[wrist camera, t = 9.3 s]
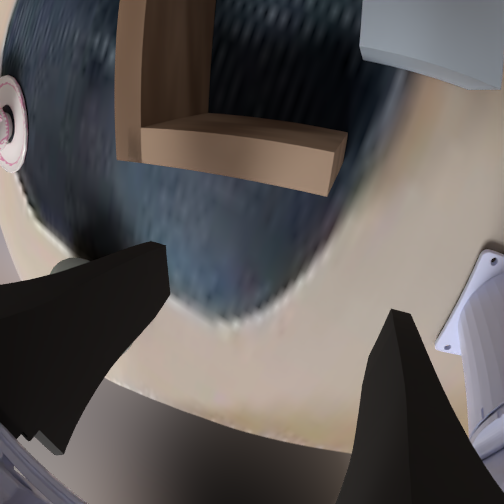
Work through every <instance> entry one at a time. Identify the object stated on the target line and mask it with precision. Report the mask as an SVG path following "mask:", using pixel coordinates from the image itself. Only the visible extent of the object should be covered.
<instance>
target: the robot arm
mask: <svg viewBox="0 0 504 504" xmlns="http://www.w3.org/2000/svg"><path fill="white" fill-rule="evenodd" d="M493 258H496V260H495V261H494V262H491V260H492V259H493ZM169 295H170V287H169V277H168V266H167V255H166V245H162V244H159V243H156V242H152V241H150V242H146V243H142V244H139V245H135V246H132V247H129V248H127V249H124V250H121V251H118V252H115V253H112V254H110V255H107V256H104V257H101V258H99V259H96V260H93V261H90V262H87V263H84V264H82V265H79V266H76V267H73V268H70V269H67V270H64V271H61V272H57V273H54V274H50V275H47V276H43V277H39V278H35V279H30V280H25V281H20V282H15V283H9V284H3V285H0V504H52V503H53V504H88V503H87V502H85V501H84V500H83V499H82V498H80V497H79V496H78V495H76V494H75V493H74V492H73V491H71V490H70V489H69V488H68V487H66V486H65V485H64V484H63V483H61V482H60V481H59V480H58V479H57V478H56V477H55V476H53V475H52V474H51V473H50V472H49V471H48V470H47V469H46V468H45V467H43V466H42V465H41V464H40V463H39V462H38V461H37V460H36V459H35V458H34V457H33V456H32V455H31V454H30V453H29V452H28V451H27V450H26V449H25V448H24V447H23V446H22V445H21V444H20V443H19V442H18V441H17V440H16V439H17V438H18V437H19V436H20V435H21V434H22V435H23V436H24V437H25V438H26V439H27V440H28V441H30V440H31V439H32V438H33V437H35V438H37V439H38V440H39V441H40V442H41V443H42V444H43V445H44V446H45V447H46V448H47V449H48V450H49V451H51V452H52V453H53V454H54V455H63V454H64V453H65V450H66V447H67V445H68V443H69V440H70V438H71V436H72V433H73V431H74V429H75V427H76V424H77V423H78V421H79V419H80V417H81V415H82V413H83V411H84V409H85V407H86V406H87V404H88V402H89V401H90V399H91V397H92V396H93V394H94V392H95V391H96V389H97V388H98V386H99V385H100V383H101V382H102V380H103V379H104V377H105V376H106V374H107V373H108V371H109V370H110V368H111V367H112V366H113V365H114V363H115V362H116V361H117V360H118V359H119V357H120V356H121V355H122V354H123V353H124V352H125V351H126V349H127V348H128V347H129V346H130V345H131V344H132V343H133V342H134V341H135V339H136V338H137V337H138V336H139V335H140V334H141V333H142V332H143V330H144V329H145V328H146V327H147V326H148V325H149V324H150V322H151V321H152V320H153V319H154V318H155V317H156V315H157V314H158V312H159V311H160V309H161V308H162V306H163V305H164V303H165V302H166V300H167V299H168V297H169ZM446 345H449V346H446ZM435 348H436V350H439V351H443V352H448V353H452V354H457V355H461V356H462V362H463V369H464V377H465V386H466V396H467V408H468V425H469V438H468V437H467V435H466V433H465V431H464V429H463V427H462V425H461V424H460V422H459V420H458V418H457V416H456V414H455V412H454V410H453V409H452V407H451V405H450V402H449V400H448V398H447V396H446V394H445V392H444V390H443V388H442V386H441V383H440V381H439V379H438V377H437V374H436V372H435V370H434V367H433V365H432V363H431V361H430V358H429V356H428V354H427V351H426V349H425V346H424V344H423V342H422V339H421V337H420V335H419V332H418V330H417V327H416V325H415V323H414V321H413V318H412V316H411V314H409V313H406V312H402V311H398V310H394V309H391V310H390V312H389V315H388V317H387V319H386V321H385V324H384V326H383V328H382V330H381V332H380V334H379V336H378V339H377V341H376V343H375V345H374V347H373V349H372V351H371V353H370V355H369V357H368V362H367V367H366V371H365V375H364V380H363V384H362V391H361V399H360V406H359V414H358V421H357V427H356V434H355V440H354V446H353V451H352V455H351V459H350V464H349V467H348V470H347V473H346V476H345V479H344V482H343V485H342V488H341V491H340V493H339V496H338V499H337V501H336V504H504V254H502V253H499V252H496V251H493V250H490V249H485V250H483V251H482V252H481V253H480V255H479V258H478V260H477V262H476V265H475V267H474V269H473V271H472V273H471V276H470V278H469V280H468V282H467V284H466V286H465V288H464V290H463V292H462V294H461V296H460V298H459V300H458V302H457V304H456V306H455V308H454V309H453V311H452V313H451V315H450V317H449V319H448V320H447V322H446V324H445V326H444V328H443V329H442V331H441V333H440V334H439V336H438V338H437V339H436V341H435ZM14 466H15V467H16V468H17V469H18V470H19V471H20V472H21V473H22V474H23V475H24V476H25V477H26V478H24V477H23V476H22V475H20V474H19V473H18V472H16V471H15V470H14Z"/></svg>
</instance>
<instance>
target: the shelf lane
mask: <svg viewBox="0 0 504 504" xmlns="http://www.w3.org/2000/svg"><path fill="white" fill-rule="evenodd" d="M215 6H216V0H120V4H119V14H118V25H117V38H116V56H115V134H116V154H117V160H122V161H131V162H139V163H146V164H154V165H161V166H168V167H175V168H181V169H188V170H194V171H200V172H207V173H212V174H218V175H224V176H230V177H235V178H241V179H246V180H251V181H256V182H261V183H266V184H271V185H276V186H281V187H286V188H291V189H295V190H300V191H304V192H309V193H313V194H318V195H322V196H326V197H327V196H328V193H329V191H330V189H331V187H332V185H333V183H334V181H335V178H336V176H337V174H338V172H339V170H340V168H341V166H342V163H343V160H344V154H345V148H346V142H347V136H348V133H347V132H343V131H338V130H333V129H328V128H322V127H317V126H311V125H305V124H299V123H293V122H287V121H280V120H273V119H265V118H257V117H248V116H239V115H228V114H216V113H208V106H209V87H210V70H211V55H212V41H213V29H214V17H215Z"/></svg>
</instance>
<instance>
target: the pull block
mask: <svg viewBox="0 0 504 504" xmlns="http://www.w3.org/2000/svg"><path fill="white" fill-rule="evenodd" d="M359 47H360V50H361V54H362V58H363V60H366V61H371V62H375V63H380V64H384V65H389V66H393V67H397V68H401V69H405V70H409V71H412V72H416V73H419V74H423V75H426V76H429V77H433V78H436V79H439V80H442V81H445V82H448V83H451V84H454V85H457V86H459V87H462V88H465V89H467V90H501V83H502V73H503V60H504V0H363V6H362V20H361V33H360V44H359Z"/></svg>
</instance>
